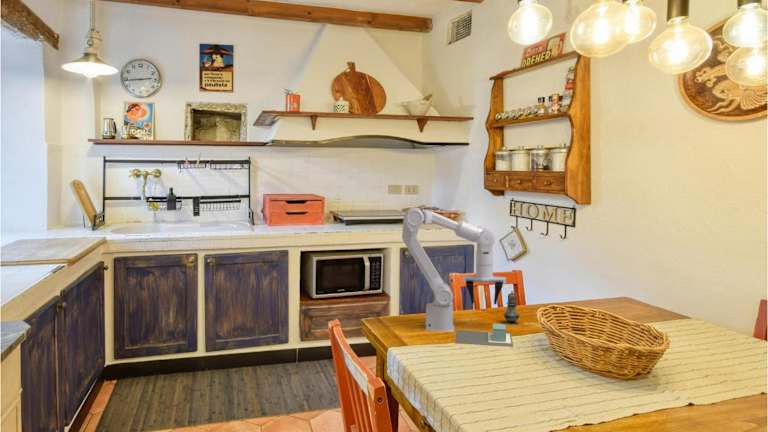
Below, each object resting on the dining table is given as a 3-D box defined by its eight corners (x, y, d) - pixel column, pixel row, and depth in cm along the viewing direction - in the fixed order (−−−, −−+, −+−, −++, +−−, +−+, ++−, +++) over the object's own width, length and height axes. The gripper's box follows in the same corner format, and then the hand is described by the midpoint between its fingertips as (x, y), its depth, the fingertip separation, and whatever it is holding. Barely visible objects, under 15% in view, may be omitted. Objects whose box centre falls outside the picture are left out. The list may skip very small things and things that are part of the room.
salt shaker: (513, 326, 175) (513, 293, 175) (499, 323, 180) (500, 290, 179) (523, 323, 179) (523, 291, 178) (509, 320, 184) (510, 288, 183)
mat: (454, 344, 156) (454, 342, 156) (456, 331, 170) (456, 329, 169) (513, 348, 152) (513, 346, 152) (510, 335, 166) (510, 332, 166)
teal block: (492, 333, 165) (492, 323, 165) (505, 334, 164) (505, 324, 164) (492, 341, 157) (493, 330, 157) (505, 342, 157) (506, 331, 156)
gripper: (462, 265, 168) (462, 304, 169) (506, 266, 165) (506, 307, 166) (463, 262, 175) (462, 300, 175) (505, 263, 172) (505, 302, 173)
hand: (483, 303), depth 171 cm, fingers open, 7 cm apart
